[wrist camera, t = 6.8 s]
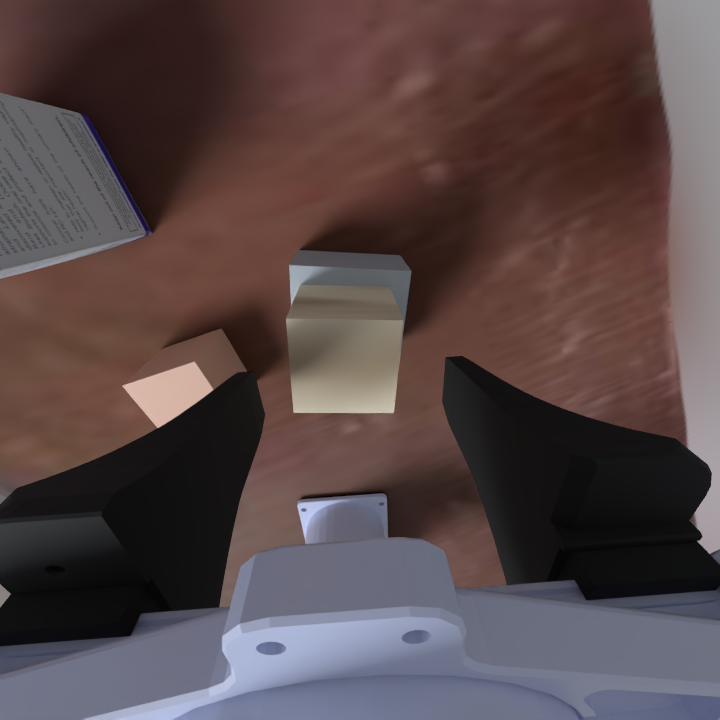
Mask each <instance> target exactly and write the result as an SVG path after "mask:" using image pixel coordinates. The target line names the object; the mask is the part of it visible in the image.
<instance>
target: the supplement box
mask: <svg viewBox="0 0 720 720" xmlns="http://www.w3.org/2000/svg"><path fill="white" fill-rule="evenodd" d="M151 234H152V232H151V230H150V229H149V226H148V224H147V222H146V220H145V219H144V217H143V215H142V213H141V211H140V210H139V208H138V206H137V205H136V203H135V201H134V199H133V197H132V195H131V193H130V192H129V190H128V188H127V186H126V184H125V183H124V181H123V179H122V177H121V175H120V173H119V171H118V170H117V168H116V166H115V164H114V162H113V160H112V158H111V156H110V154H109V152H108V151H107V149H106V147H105V145H104V144H103V142H102V140H101V138H100V136H99V134H98V132H97V131H96V129H95V127H94V125H93V123H92V121H91V120H90V119H89V117H87V116H86V115H84V114H81V113H77V112H73V111H70V110H66V109H62V108H58V107H54V106H51V105H47V104H43V103H39V102H35V101H31V100H27V99H22V98H19V97H15V96H11V95H7V94H3V93H0V279H1V278H5V277H9V276H13V275H17V274H21V273H24V272H28V271H32V270H36V269H39V268H43V267H47V266H50V265H54V264H58V263H61V262H65V261H69V260H72V259H76V258H80V257H83V256H86V255H90V254H93V253H97V252H100V251H103V250H107V249H110V248H113V247H116V246H119V245H122V244H125V243H128V242H131V241H134V240H137V239H139V238H142V237H145V236H148V235H151Z"/></svg>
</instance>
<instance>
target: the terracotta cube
mask: <svg viewBox="0 0 720 720" xmlns="http://www.w3.org/2000/svg"><path fill="white" fill-rule="evenodd" d="M237 372H247V370H246V369H245V367H244V365H243V364H242V362H241V360H240V358H239V357H238V355H237V353H236V352H235V350H234V348H233V347H232V345H231V343H230V342H229V340H228V338H227V337H226V335H225V333H224V332H223V330H222V328H221V329H218V330H215V331H212V332H209V333H206V334H203V335H200V336H197V337H195V338H192V339H189V340H186V341H183V342H180V343H177V344H174V345H171V346H168V347H165V348H163V349H161V350H159V351H158V352H157V353H156V354H155V355H154V356H153V357H152V358H151V359H150V360H149V361H148V362H147V363H146V364H145V365H144V366H143V367H141V368H140V369H139V370H138V371H137V372H136V373H135V374H134V375H133V376H132V377H131V378H130V379H129V380H128V381H127V382H126V383H124V384H123V385H122V386H123V387H124V389H125V390H126V391H127V392H128V393H129V394H130V396H131V397H132V398H133V399H134V400H135V402H136V403H137V404H138V405H139V406H140V408H141V409H142V410H143V411H144V412H145V414H146V415H147V416H148V417H149V418H150V419H151V421H152V422H153V423H154V424H155V425H156V427H157V428H159V427H161V426H162V425H164V424H166V423H167V422H169V421H170V420H172V419H174V418H175V417H177V416H178V415H180V414H181V413H182V412H184V411H185V410H187V409H188V408H190V407H191V406H192V405H194V404H195V403H197V402H198V401H200V400H201V399H202V398H204V397H205V396H206V395H207V394H209V393H210V392H211V391H213V390H214V389H215V388H217V387H218V386H219V385H221V384H222V383H223V382H224V381H226V380H227V379H228V378H230V377H231V376H233V375H234V374H236V373H237Z"/></svg>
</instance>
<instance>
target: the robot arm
mask: <svg viewBox="0 0 720 720" xmlns="http://www.w3.org/2000/svg"><path fill="white" fill-rule="evenodd" d="M442 402H443V406H444V409H445V413H446V416H447V419H448V422H449V425H450V427H451V430H452V432H453V434H454V436H455V438H456V440H457V443H458V445H459V447H460V449H461V451H462V453H463V455H464V458H465V460H466V462H467V464H468V466H469V468H470V470H471V473H472V475H473V477H474V480H475V482H476V485H477V488H478V491H479V494H480V497H481V500H482V503H483V506H484V509H485V512H486V515H487V518H488V521H489V524H490V528H491V531H492V534H493V537H494V541H495V544H496V547H497V551H498V554H499V558H500V561H501V565H502V568H503V572H504V575H505V579H506V583H507V585H501V586H489V587H476V588H465V587H457V586H455V585H454V582H453V578H452V574H451V571H450V567H449V564H448V561H447V558H446V555H445V552H444V551H443V550H441V549H439V548H438V547H436V546H434V545H432V544H430V543H429V542H427V541H425V540H423V539H418V538H406V537H390V538H388V520H387V497H386V495H385V494H383V493H379V494H366V495H353V496H339V497H326V498H313V499H302V500H299V501H298V510H299V515H300V519H301V523H302V528H303V532H304V536H305V540H306V541H305V544H298V545H285V546H280V547H276V548H272V549H268V550H264V551H260V552H258V553H257V554H255V555H254V556H253V557H252V558H250V559H249V560H248V561H247V562H246V563H245V564H243V565H242V566H241V568H240V572H239V575H238V579H237V583H236V587H235V590H234V594H233V598H232V602H231V605H230V607H219V605H220V598H221V591H222V586H223V580H224V574H225V569H226V563H227V557H228V552H229V547H230V542H231V537H232V532H233V527H234V523H235V519H236V514H237V510H238V505H239V501H240V498H241V494H242V491H243V488H244V485H245V482H246V479H247V476H248V473H249V470H250V468H251V465H252V462H253V459H254V456H255V453H256V450H257V447H258V444H259V441H260V438H261V434H262V429H263V423H264V417H265V413H264V409H263V405H262V401H261V397H260V393H259V389H258V385H257V381H256V377H255V373H254V371H248V372H237V373H236V374H234V375H233V376H231V377H230V378H228V379H227V380H226V381H224V382H223V383H222V384H221V385H219V386H218V387H217V388H215V389H214V390H213V391H211V392H210V393H209V394H207V395H206V396H205V397H204V398H202V399H201V400H200V401H198V402H197V403H195V404H194V405H192V406H191V407H190V408H188V409H187V410H185V411H184V412H182V413H181V414H180V415H178V416H177V417H175V418H174V419H172V420H170V421H169V422H167V423H166V424H164V425H162V426H161V427H159V428H157V429H155V430H154V431H152V432H150V433H148V434H147V435H145V436H143V437H141V438H139V439H137V440H135V441H133V442H131V443H129V444H127V445H125V446H123V447H121V448H119V449H117V450H115V451H113V452H111V453H108V454H106V455H104V456H101V457H99V458H97V459H95V460H92V461H90V462H87V463H85V464H82V465H80V466H78V467H75V468H72V469H70V470H67V471H65V472H62V473H59V474H56V475H53V476H51V477H48V478H45V479H42V480H39V481H36V482H34V483H31V484H28V485H25V486H22V487H19V488H17V489H16V490H14V491H13V492H12V493H11V494H10V495H9V496H8V497H7V498H6V499H5V500H4V501H3V502H2V503H1V504H0V584H1V585H2V586H3V587H4V588H5V589H6V590H7V591H9V592H10V593H12V594H11V595H10V596H9V597H8V599H7V600H6V601H5V602H4V604H3V605H2V606H1V607H0V720H720V550H717V551H715V552H713V553H711V554H709V553H708V552H707V551H706V550H705V549H704V548H703V547H702V546H701V545H700V544H699V543H698V542H697V541H698V540H700V539H701V538H702V534H701V532H700V531H699V530H698V529H697V528H696V527H695V526H694V525H693V524H692V523H691V522H690V521H689V520H690V518H691V517H692V516H693V514H694V513H695V511H696V509H697V508H698V507H699V505H700V504H701V502H702V501H703V499H704V498H705V496H706V494H707V492H708V490H709V488H710V486H711V475H712V473H711V471H710V468H709V467H708V465H707V464H706V463H705V462H704V461H702V460H701V459H700V458H699V457H697V456H696V455H695V454H694V453H692V452H691V451H690V450H689V449H688V448H686V447H685V446H684V445H683V444H681V443H680V442H679V441H678V440H676V439H675V438H670V437H665V436H660V435H656V434H651V433H646V432H641V431H637V430H632V429H628V428H624V427H620V426H616V425H613V424H609V423H605V422H602V421H598V420H595V419H592V418H588V417H585V416H582V415H579V414H576V413H574V412H571V411H568V410H565V409H562V408H560V407H557V406H554V405H552V404H550V403H547V402H545V401H543V400H540V399H538V398H536V397H534V396H532V395H529V394H527V393H525V392H523V391H522V390H520V389H518V388H516V387H514V386H512V385H510V384H508V383H507V382H505V381H503V380H501V379H500V378H498V377H496V376H495V375H493V374H491V373H490V372H488V371H486V370H485V369H483V368H482V367H480V366H478V365H477V364H475V363H473V362H472V361H470V360H468V359H467V358H465V357H463V356H455V357H446V360H445V373H444V386H443V399H442Z"/></svg>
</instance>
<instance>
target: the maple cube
mask: <svg viewBox="0 0 720 720" xmlns="http://www.w3.org/2000/svg"><path fill="white" fill-rule="evenodd" d="M286 325H287V337H288V349H289V361H290V374H291V386H292V398H293V410H294V413H394V407H395V397H396V387H397V377H398V368H399V358H400V348H401V339H402V329H403V318H402V316H401V313H400V311H399V308H398V306H397V303H396V301H395V298H394V296H393V293H392V291H391V288H390V287H389V286H341V285H300V286H299V289H298V291H297V294H296V296H295V298H294V301H293V303H292V305H291V308H290V310H289V313H288V315H287V317H286Z"/></svg>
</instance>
